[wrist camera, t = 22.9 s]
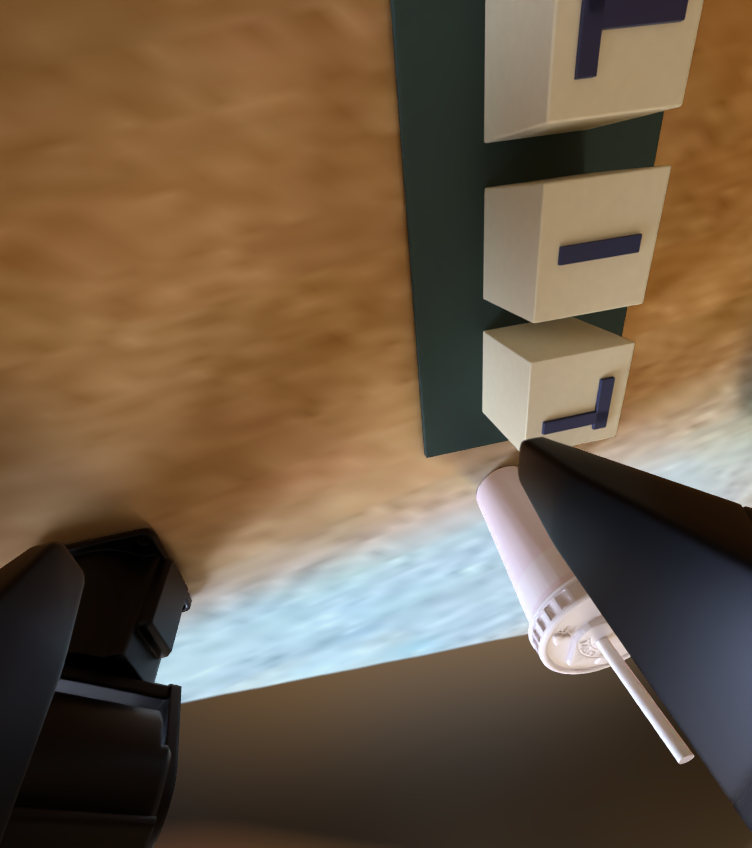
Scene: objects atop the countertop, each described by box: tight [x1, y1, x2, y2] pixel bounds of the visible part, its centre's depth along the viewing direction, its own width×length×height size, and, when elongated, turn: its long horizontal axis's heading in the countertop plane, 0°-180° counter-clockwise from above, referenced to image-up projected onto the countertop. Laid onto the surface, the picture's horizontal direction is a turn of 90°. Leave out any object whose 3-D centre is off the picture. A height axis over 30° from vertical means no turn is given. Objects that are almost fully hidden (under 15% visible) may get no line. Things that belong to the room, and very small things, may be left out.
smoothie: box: [477, 466, 694, 764], centre depth 19 cm, size 6×6×14 cm
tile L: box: [482, 317, 635, 451], centre depth 19 cm, size 4×4×5 cm
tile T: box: [484, 0, 704, 143], centre depth 13 cm, size 4×4×5 cm
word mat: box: [390, 0, 664, 458], centre depth 18 cm, size 11×20×1 cm, turn 7°
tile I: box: [483, 165, 671, 323], centre depth 16 cm, size 4×4×5 cm
